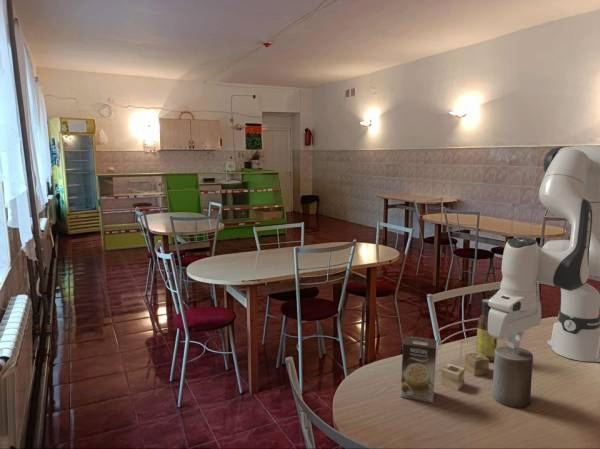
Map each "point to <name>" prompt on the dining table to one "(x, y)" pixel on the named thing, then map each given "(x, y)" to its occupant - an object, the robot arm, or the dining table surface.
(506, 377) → the pillar candle
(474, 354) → the wooden cube
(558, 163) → the robot arm
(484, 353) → the sauce bottle
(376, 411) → the dining table surface
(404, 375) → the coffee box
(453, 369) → the marked block beech
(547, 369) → the dining table surface
